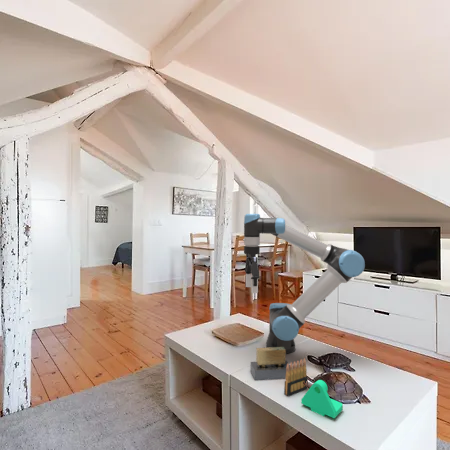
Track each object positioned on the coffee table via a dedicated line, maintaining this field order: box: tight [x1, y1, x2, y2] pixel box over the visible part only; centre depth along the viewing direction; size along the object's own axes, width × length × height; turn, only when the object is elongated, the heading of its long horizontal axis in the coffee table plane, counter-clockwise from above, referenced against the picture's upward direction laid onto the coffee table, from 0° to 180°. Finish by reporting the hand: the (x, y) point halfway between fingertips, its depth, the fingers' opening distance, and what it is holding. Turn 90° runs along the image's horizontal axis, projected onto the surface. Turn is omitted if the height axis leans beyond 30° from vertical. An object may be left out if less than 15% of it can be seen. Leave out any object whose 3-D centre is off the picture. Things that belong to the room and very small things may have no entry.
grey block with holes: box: [250, 359, 290, 381], centre depth 130 cm, size 16×8×4 cm, turn 98°
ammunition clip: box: [283, 357, 309, 398], centre depth 117 cm, size 11×2×12 cm, turn 122°
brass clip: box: [255, 347, 287, 368], centre depth 130 cm, size 12×3×11 cm, turn 98°
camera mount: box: [301, 379, 344, 419], centre depth 107 cm, size 12×8×10 cm, turn 47°
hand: (251, 289), depth 147 cm, fingers open, 13 cm apart
